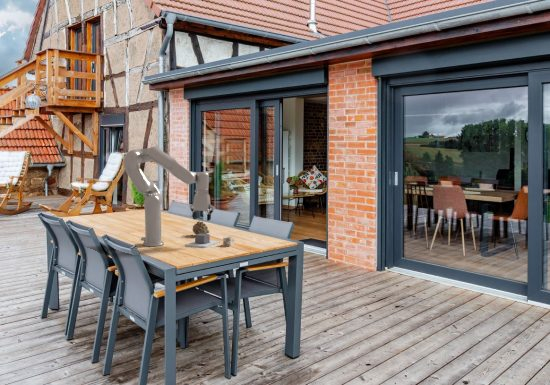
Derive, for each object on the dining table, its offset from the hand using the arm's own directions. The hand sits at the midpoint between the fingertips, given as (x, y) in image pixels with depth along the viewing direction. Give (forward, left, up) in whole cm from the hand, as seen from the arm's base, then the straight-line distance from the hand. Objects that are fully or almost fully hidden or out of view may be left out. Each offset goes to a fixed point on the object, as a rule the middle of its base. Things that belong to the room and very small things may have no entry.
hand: (201, 219), depth 299 cm
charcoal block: (0, 0, -14) cm, 14 cm away
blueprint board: (0, 0, -15) cm, 15 cm away
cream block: (+16, +4, -16) cm, 23 cm away
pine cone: (-13, +23, -16) cm, 31 cm away
